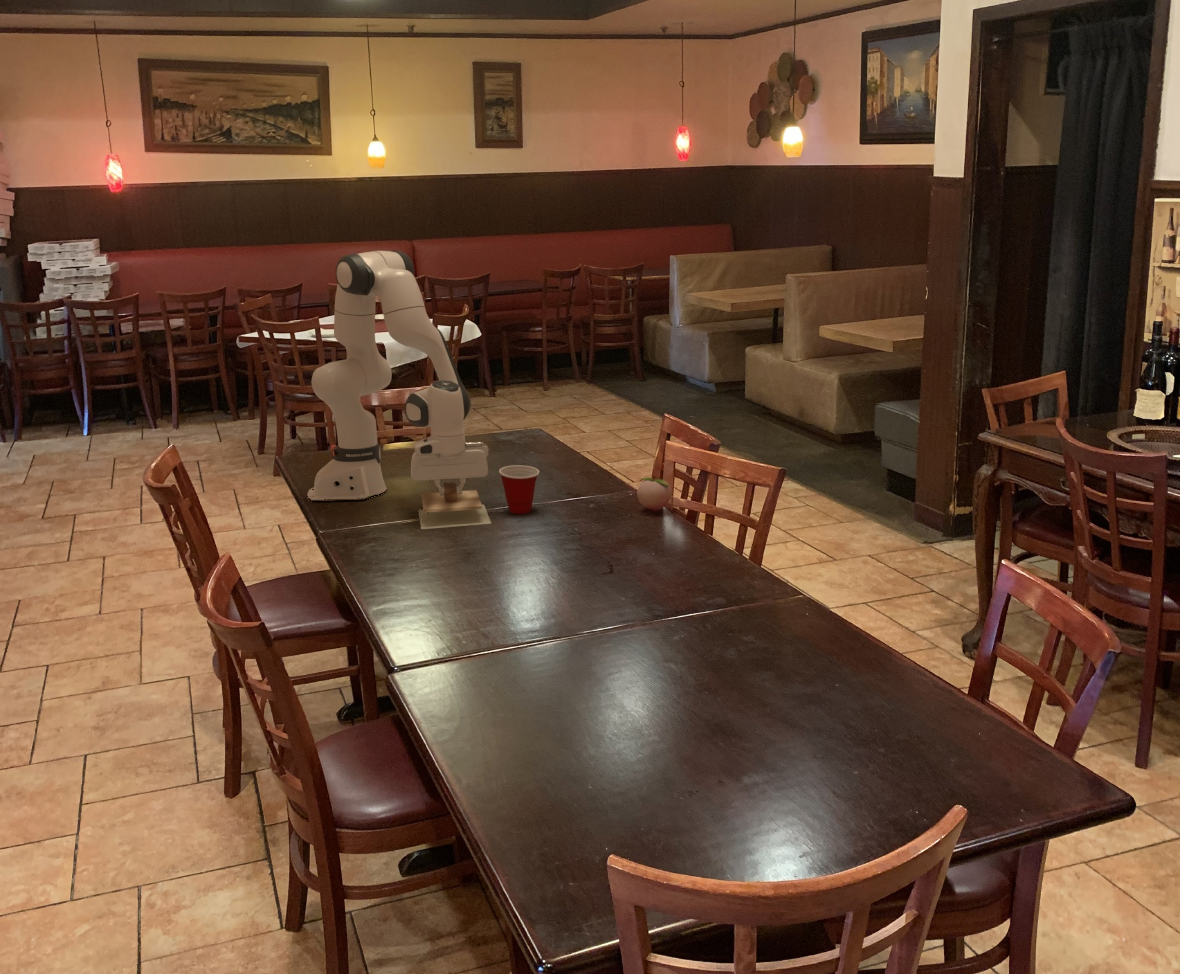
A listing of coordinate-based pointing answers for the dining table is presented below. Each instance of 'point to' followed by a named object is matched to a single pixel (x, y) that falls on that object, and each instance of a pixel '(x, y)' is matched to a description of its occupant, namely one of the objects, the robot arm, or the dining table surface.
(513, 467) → the plastic cup
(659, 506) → the decorative fruit
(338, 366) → the robot arm
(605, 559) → the dining table surface
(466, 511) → the mat
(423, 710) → the dining table surface
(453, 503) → the lid
